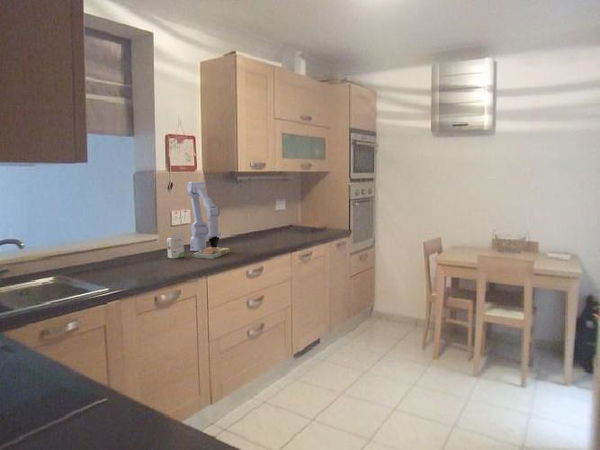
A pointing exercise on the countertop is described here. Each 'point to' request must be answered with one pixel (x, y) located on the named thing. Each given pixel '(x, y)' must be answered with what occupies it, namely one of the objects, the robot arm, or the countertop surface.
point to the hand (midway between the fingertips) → (214, 249)
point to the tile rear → (210, 249)
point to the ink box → (175, 245)
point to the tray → (206, 255)
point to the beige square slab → (222, 250)
